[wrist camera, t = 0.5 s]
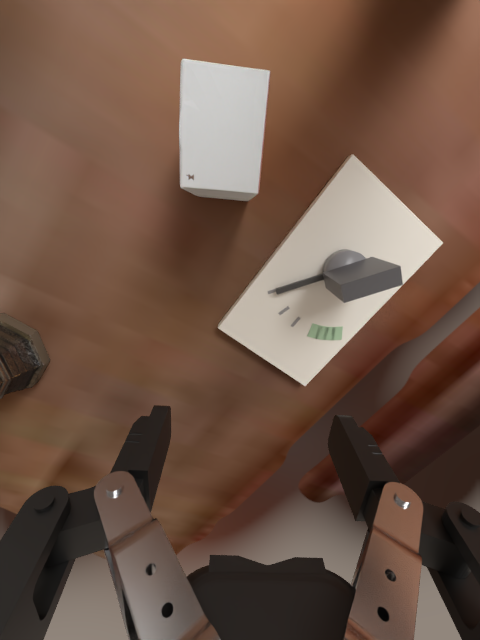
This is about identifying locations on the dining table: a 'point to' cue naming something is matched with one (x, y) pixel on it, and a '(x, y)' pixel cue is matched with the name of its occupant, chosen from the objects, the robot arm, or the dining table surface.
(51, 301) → the dining table surface
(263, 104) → the small box
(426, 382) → the dining table surface
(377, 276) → the tuning knob
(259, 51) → the dining table surface
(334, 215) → the gauge board
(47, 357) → the pedestal telescope
